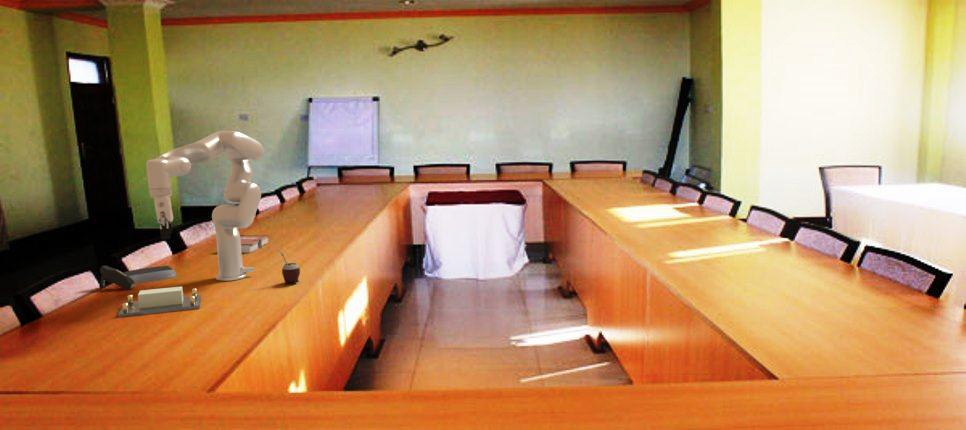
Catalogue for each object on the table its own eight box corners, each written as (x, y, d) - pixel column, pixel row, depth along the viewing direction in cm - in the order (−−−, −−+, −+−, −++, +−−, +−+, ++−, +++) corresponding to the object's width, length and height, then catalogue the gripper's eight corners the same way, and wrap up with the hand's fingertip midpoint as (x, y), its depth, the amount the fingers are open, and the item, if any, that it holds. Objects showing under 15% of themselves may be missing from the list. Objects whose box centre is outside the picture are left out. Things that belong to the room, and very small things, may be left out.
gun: (126, 303, 257) (133, 282, 255) (93, 283, 258) (100, 263, 256) (131, 301, 260) (138, 280, 257) (99, 282, 261) (106, 261, 259)
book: (251, 254, 321) (251, 244, 320) (217, 254, 321) (217, 244, 320) (270, 243, 346) (269, 234, 346) (238, 243, 347) (238, 234, 346)
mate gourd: (303, 282, 263) (301, 247, 261) (286, 286, 258) (284, 250, 255) (294, 279, 268) (292, 245, 266) (277, 283, 263) (274, 248, 260)
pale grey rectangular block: (183, 299, 238) (182, 286, 237) (182, 303, 232) (181, 290, 231) (141, 303, 233) (140, 290, 232) (139, 308, 227) (137, 294, 226)
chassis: (201, 297, 244) (200, 286, 243) (199, 308, 230) (198, 297, 229) (125, 305, 235) (124, 294, 234) (118, 317, 221) (116, 305, 220)
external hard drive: (177, 278, 275) (177, 269, 274) (127, 286, 263) (126, 276, 262) (170, 272, 285) (169, 263, 284) (121, 280, 273) (120, 270, 272)
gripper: (170, 194, 232) (176, 240, 235) (173, 188, 247) (178, 230, 251) (147, 196, 229) (153, 242, 232) (151, 189, 244) (157, 232, 248)
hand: (166, 236), depth 242 cm, fingers open, 9 cm apart
